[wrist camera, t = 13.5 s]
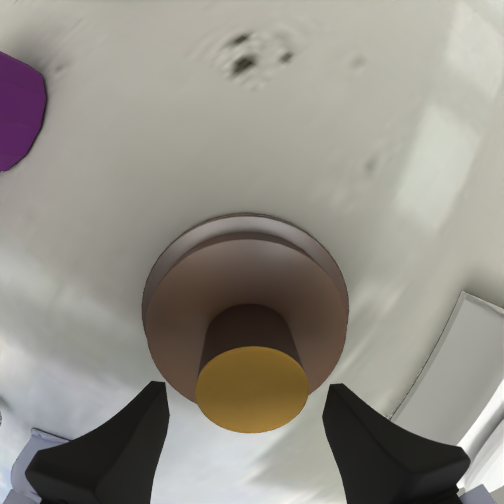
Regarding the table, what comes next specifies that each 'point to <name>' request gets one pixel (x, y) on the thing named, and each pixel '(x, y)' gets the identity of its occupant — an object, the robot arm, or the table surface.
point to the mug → (18, 109)
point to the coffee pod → (250, 371)
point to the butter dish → (464, 391)
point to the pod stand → (243, 293)
